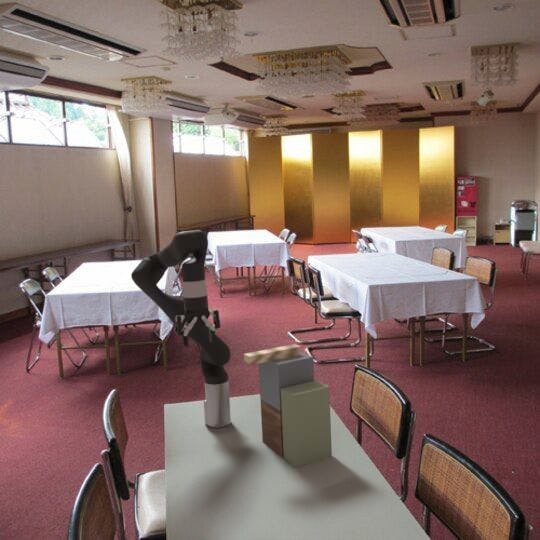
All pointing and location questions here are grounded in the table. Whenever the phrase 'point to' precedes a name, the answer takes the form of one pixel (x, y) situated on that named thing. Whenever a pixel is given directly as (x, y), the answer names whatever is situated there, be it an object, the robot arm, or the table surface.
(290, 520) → the table surface
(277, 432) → the walnut crate
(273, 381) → the block
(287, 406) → the olive box
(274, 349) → the birch slat
